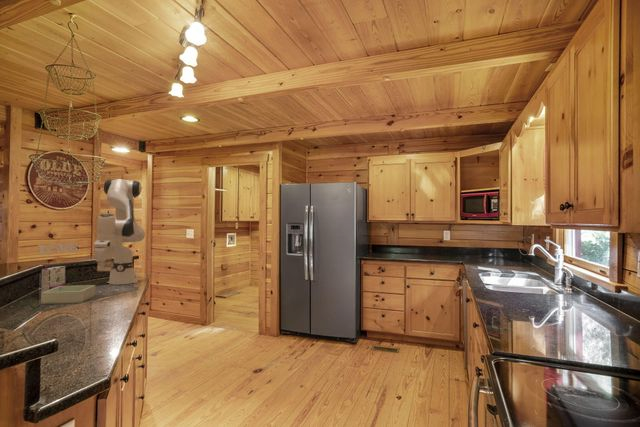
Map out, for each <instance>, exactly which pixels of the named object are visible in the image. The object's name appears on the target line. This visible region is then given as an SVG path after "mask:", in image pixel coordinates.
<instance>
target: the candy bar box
mask: <svg viewBox="0 0 640 427" xmlns="http://www.w3.org/2000/svg"><path fill="white" fill-rule="evenodd" d="M66 268H67V266H63V265H62V266H61V265H59V266H52V267H47V268H42V269H41V292H40V294H41V293H42V292H45V291H47V290H50V289H53V288H55V287H58V286H66Z"/></svg>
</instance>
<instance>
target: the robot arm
mask: <svg viewBox="0 0 640 427" xmlns="http://www.w3.org/2000/svg"><path fill="white" fill-rule="evenodd" d="M142 188H143V187H142V184H141V183H140V182H139V181H137V180H131V179H129V180H128V179H123V178H115V179H107V180H106V181H104V183H103V191H104V192H103V193H104V194H105V195H106V201H107V202H108V204H109V205H110V206H112V207H114V209H115V212H114V213H115V214H112V213H102V214H99V215H98V218H97V223H96V232H97V234H96V239H95V242H93V248H94V249H93V250H94V251H93V254H94V258H93V259H94V261H95V262H100V265H101V269H104V268H105V261H111V259H112V258H113V269H112V270H111V271H109V280H108V281H107V282H106V284H107V283H109V284H108V285H114V286H115V285H128V284H134V283H135V284H136V283H139V277H137V275H136V270H135V269H134V261H133V250H132V249H131V248H129V247H127V246H124V245H123V243H138V242H142V241H143V240H144V239H145V237H146V232H145V230H144V228H143V227H141V226H140V225H139V224H138V223H137V220H136V219H135V201H134V200H135V199H136V198H137V197H139V196H140V194H141V193H142Z"/></svg>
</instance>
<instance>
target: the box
mask: <svg viewBox="0 0 640 427" xmlns="http://www.w3.org/2000/svg"><path fill="white" fill-rule="evenodd" d="M96 287H97V286H96V284H88V285H87V284H86V285H83V284H82V285H80V284H79V285H65V286H58V287H55V288H53V289H50V290H47V291H45V292H42V293H41V292H40V305H41V306H42V305H62V304H64V305H65V304H66V305H68V304H69V305H70V304H82V303H84V302H86V301H88V300H89V299H91V298H93V297H95V296H96Z"/></svg>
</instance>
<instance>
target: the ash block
mask: <svg viewBox="0 0 640 427" xmlns="http://www.w3.org/2000/svg"><path fill="white" fill-rule="evenodd" d="M113 263H114V260H110V261H105V268H104V269H101V265H100V261H97V268H96V270H97V272H110V271H111V270H113Z"/></svg>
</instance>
